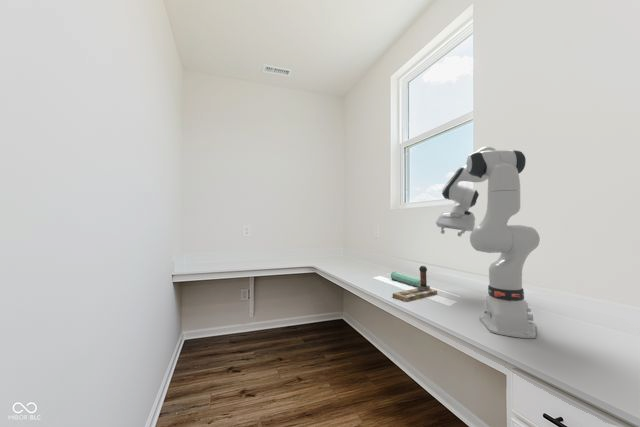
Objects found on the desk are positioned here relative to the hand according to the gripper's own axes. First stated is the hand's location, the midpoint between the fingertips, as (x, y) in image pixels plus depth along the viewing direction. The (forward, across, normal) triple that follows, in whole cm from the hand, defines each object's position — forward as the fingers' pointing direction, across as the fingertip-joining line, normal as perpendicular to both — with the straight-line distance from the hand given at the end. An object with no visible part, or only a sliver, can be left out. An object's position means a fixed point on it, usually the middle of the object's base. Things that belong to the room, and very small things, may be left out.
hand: (450, 234), depth 158 cm
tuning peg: (+33, -5, +7) cm, 34 cm away
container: (+28, -26, +25) cm, 46 cm away
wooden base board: (+39, -7, +4) cm, 40 cm away
